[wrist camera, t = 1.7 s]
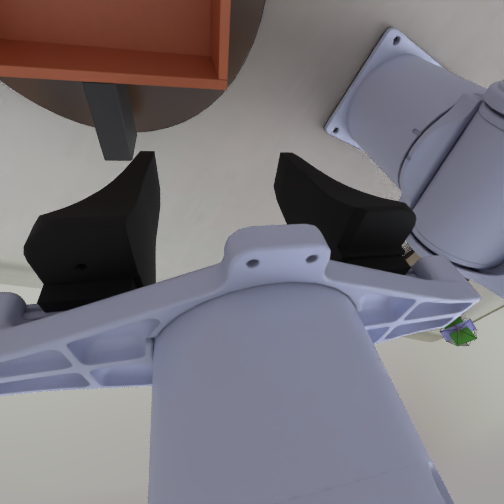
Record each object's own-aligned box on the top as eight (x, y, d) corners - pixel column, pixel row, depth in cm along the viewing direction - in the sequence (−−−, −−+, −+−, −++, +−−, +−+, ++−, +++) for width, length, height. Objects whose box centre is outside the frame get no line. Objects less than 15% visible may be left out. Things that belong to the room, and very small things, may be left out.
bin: (223, -176, 12) (243, -221, 9) (217, 127, 22) (225, 161, 19) (-161, -278, 9) (-343, -398, 6) (25, 122, 19) (-5, 160, 16)
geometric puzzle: (436, 327, 63) (457, 358, 62) (468, 313, 60) (491, 346, 59) (429, 317, 69) (449, 345, 68) (458, 304, 67) (479, 333, 66)
